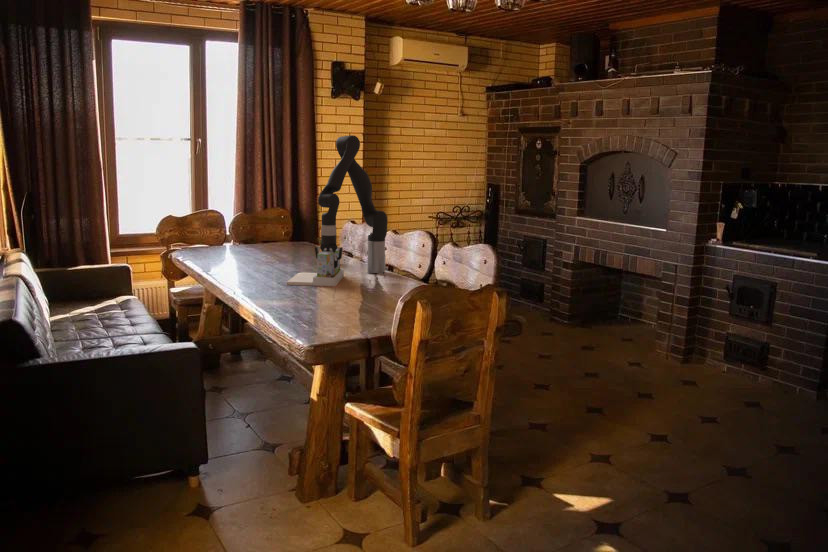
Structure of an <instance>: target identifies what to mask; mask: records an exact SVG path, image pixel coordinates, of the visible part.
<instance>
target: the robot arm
mask: <svg viewBox="0 0 828 552" xmlns="http://www.w3.org/2000/svg"><path fill="white" fill-rule="evenodd" d="M360 147H361V142H360V138H359V137H358V136H356V135H352V134H351V135H350V134H349V135H343V136H342V135H341V136H339V137H337V138H336V141H335V148H336V151H337V153H338V155H339V157H340V160H339V162H338V163H337V164H336V165H335V166H334V167H333V169H332V171H331V172H330V175H329V177H328V180H327V183H326V185H325V186H324V187H323V189H322V190H321V191H320V193H319V195H318V197H317V201H318V205H319V206H320V207H321V208H328V210H327V211H326V212H323V213H322V214H321V229H320V236H321V237H320V240H321V243H320V244H321V245H320V246H319V247H317V246H318V245H316V246H315V247H314V252H315V258H316V260H317V254H319V253H320V252H319V251H321V252H322V251H323V252H324V251H330V252H333V257H334V259H335V261H334V268H336V267H337V266H338V260H340V261H341V260H342V257H343V250H344V247H343V246H340V247H339V246H338V245H337V239H336V238H337V214H338V210H339V207H340V197H339V195H338V194H336V193H338V192H340V190H341V189H342V186H343V183H344V179H345V177H346V176H347V174H348V176H349V179H350V183H351V184H352V187H353V189H354V192H355V194H356V197H357V199H358V200H357V201H358V202H359V205H360V208H361V211H362V215H363V218H364V222H365V224H366V225H367V226H368V227H370V228H372V230H371V231H372V232H371V233H370V234H368V236H367V273H368V272H369V273H368V274H371V273H383V272H384V271H385V272H386V237H387V235H388V216H387V213H386V212H385V211H383V210H378V209H376V207H375V205H374V202H373V198H372V197H373V196H372V195H373V193H372V192H373V185H372V182H371V179H370V177H369V175H368V172H367V171H366V170H365V169H364V168H363V167H362V166H361V165H360V164H359V163H358V161H356V159H355V158H356V156H357V154H358V152H359V150H360ZM337 249H338V251H339V257H337V255H336V253H335V254H334V252H335V251H336V250H337Z"/></svg>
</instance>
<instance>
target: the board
mask: <svg viewBox="0 0 828 552" xmlns="http://www.w3.org/2000/svg"><path fill="white" fill-rule="evenodd" d="M316 274H317V272H303V271H302V272H298V273H296V274H294V276H292V277H291V278H290V279H288V280H287V281H286V286H313V277H314V276H315V275H316Z"/></svg>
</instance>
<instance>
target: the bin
mask: <svg viewBox="0 0 828 552" xmlns="http://www.w3.org/2000/svg"><path fill="white" fill-rule="evenodd" d="M344 273H345V269H344V268H340V272H339V273H338V274H337V275H336V276H335V277H334V278H327V277H317V274H316V275H315V276H314V277H313V285H312V286H313V287H314V286H316V287H336V286H337V285H338V283H339V282H341V280H342V279H344V277H345V274H344Z"/></svg>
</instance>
